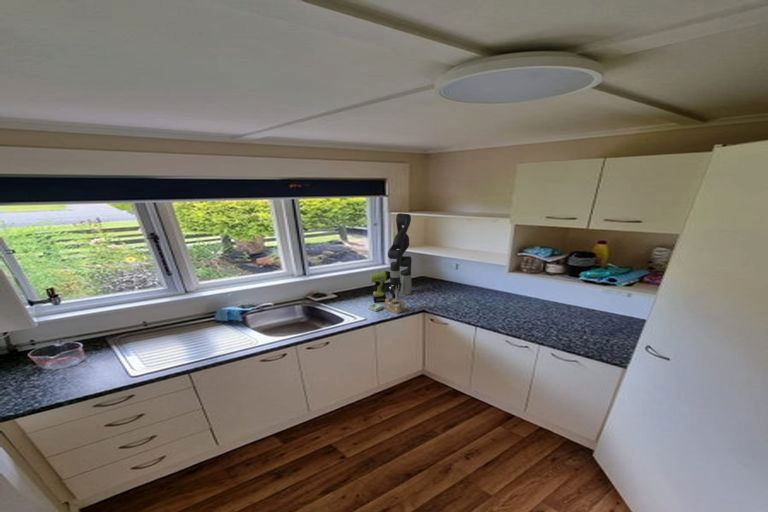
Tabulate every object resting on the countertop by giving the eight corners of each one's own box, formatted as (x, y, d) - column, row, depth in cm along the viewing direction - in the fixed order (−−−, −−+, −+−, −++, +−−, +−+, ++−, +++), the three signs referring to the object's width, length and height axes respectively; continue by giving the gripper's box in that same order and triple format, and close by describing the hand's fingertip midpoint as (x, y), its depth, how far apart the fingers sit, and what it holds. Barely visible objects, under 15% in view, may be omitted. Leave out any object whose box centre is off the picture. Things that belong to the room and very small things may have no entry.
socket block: (394, 306, 241) (394, 299, 240) (404, 309, 235) (404, 302, 234) (386, 310, 234) (386, 303, 232) (396, 314, 228) (396, 306, 226)
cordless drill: (397, 298, 260) (397, 269, 254) (399, 301, 253) (399, 271, 247) (370, 300, 256) (369, 271, 250) (371, 303, 249) (370, 273, 244)
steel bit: (394, 307, 237) (394, 288, 233) (398, 308, 235) (398, 288, 231) (392, 309, 234) (392, 289, 230) (395, 310, 232) (395, 290, 229)
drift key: (387, 306, 241) (387, 298, 239) (390, 307, 239) (390, 299, 238) (385, 307, 239) (385, 299, 237) (388, 308, 237) (388, 300, 235)
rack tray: (374, 306, 243) (374, 303, 243) (382, 308, 238) (382, 305, 238) (368, 309, 237) (368, 306, 236) (376, 311, 232) (376, 308, 232)
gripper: (393, 279, 221) (393, 301, 225) (404, 274, 231) (404, 296, 235) (385, 277, 225) (385, 299, 229) (396, 272, 236) (396, 294, 240)
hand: (395, 297), depth 232 cm, fingers closed on steel bit, 3 cm apart
